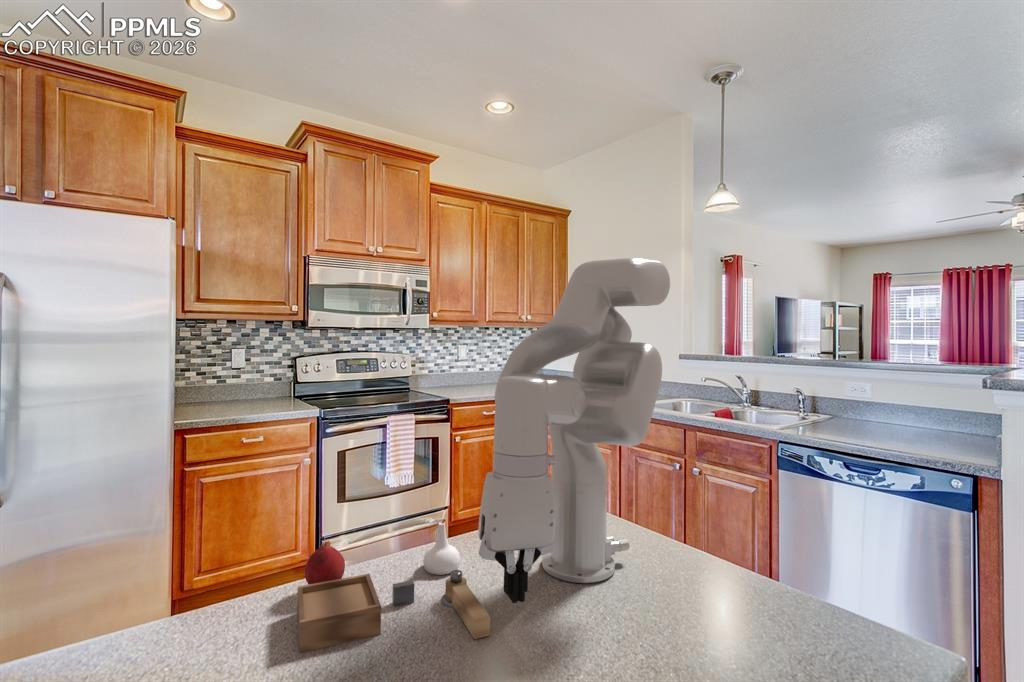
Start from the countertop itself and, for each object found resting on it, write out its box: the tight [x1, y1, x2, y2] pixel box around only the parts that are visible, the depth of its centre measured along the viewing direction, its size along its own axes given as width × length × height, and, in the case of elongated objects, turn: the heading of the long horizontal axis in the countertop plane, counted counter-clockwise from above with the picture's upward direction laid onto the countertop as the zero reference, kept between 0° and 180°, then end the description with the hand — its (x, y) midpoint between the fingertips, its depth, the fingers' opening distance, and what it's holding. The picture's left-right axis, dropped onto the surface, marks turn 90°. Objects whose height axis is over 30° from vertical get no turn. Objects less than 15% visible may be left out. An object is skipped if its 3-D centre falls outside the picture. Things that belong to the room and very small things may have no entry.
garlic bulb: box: [422, 522, 461, 576], centre depth 87 cm, size 6×6×8 cm
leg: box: [444, 576, 491, 640], centre depth 72 cm, size 13×3×2 cm, turn 25°
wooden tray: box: [296, 573, 382, 654], centre depth 69 cm, size 10×10×4 cm
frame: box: [391, 569, 463, 608], centre depth 75 cm, size 11×5×4 cm, turn 115°
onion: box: [304, 539, 346, 585], centre depth 78 cm, size 6×6×8 cm
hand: (515, 597), depth 69 cm, fingers closed
